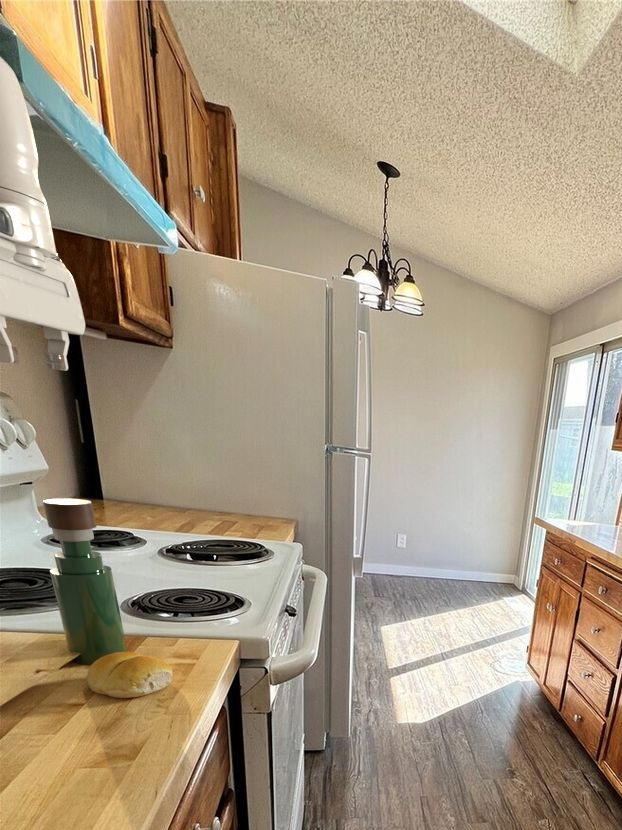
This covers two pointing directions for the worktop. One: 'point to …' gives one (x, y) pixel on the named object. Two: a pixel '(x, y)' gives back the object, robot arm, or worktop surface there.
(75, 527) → the brown cylinder puck
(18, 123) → the robot arm
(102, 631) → the green bottle
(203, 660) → the worktop surface
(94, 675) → the bread roll
